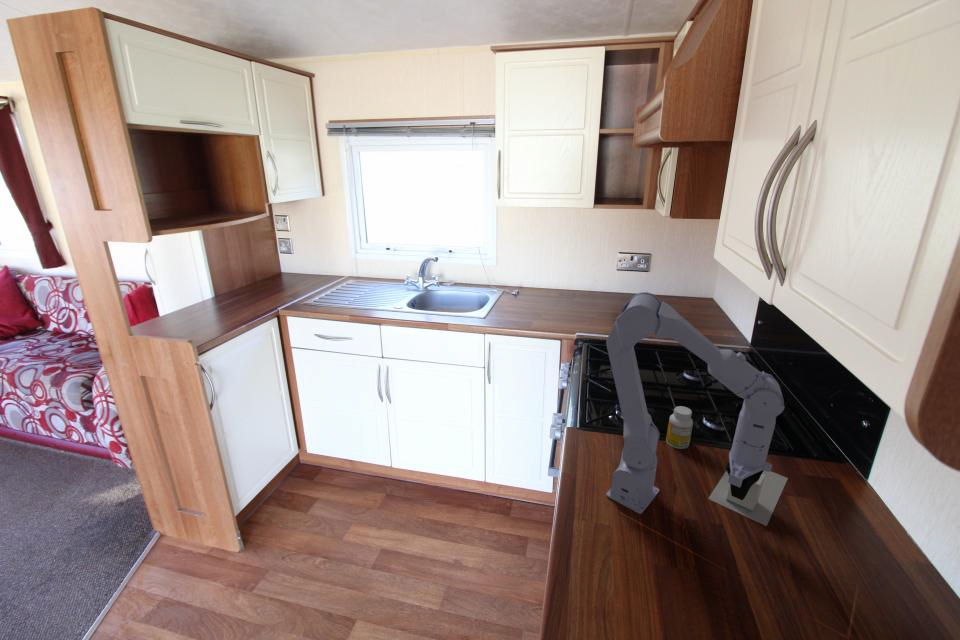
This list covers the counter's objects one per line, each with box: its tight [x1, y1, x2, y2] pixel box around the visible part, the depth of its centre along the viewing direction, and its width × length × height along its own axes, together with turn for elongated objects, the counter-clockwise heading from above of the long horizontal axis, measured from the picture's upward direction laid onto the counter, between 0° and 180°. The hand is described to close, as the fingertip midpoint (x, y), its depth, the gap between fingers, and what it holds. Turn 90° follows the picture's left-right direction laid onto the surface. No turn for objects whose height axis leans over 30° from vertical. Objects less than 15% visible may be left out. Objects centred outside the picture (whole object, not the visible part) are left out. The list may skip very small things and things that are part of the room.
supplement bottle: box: [665, 405, 694, 450], centre depth 114 cm, size 5×5×10 cm
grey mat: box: [707, 470, 789, 527], centre depth 100 cm, size 19×11×1 cm, turn 137°
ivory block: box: [726, 474, 765, 513], centre depth 95 cm, size 4×5×7 cm
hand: (737, 496), depth 89 cm, fingers closed
